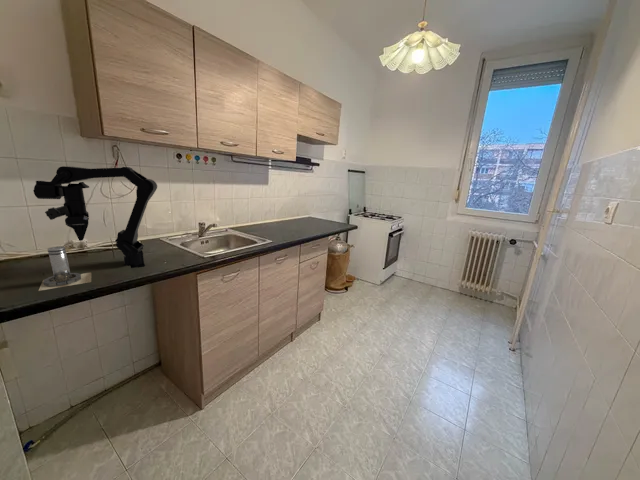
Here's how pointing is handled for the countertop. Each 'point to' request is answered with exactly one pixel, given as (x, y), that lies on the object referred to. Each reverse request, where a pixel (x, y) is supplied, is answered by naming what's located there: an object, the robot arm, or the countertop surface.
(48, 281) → the ring
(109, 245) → the countertop surface
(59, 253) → the clear glass jar
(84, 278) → the board
